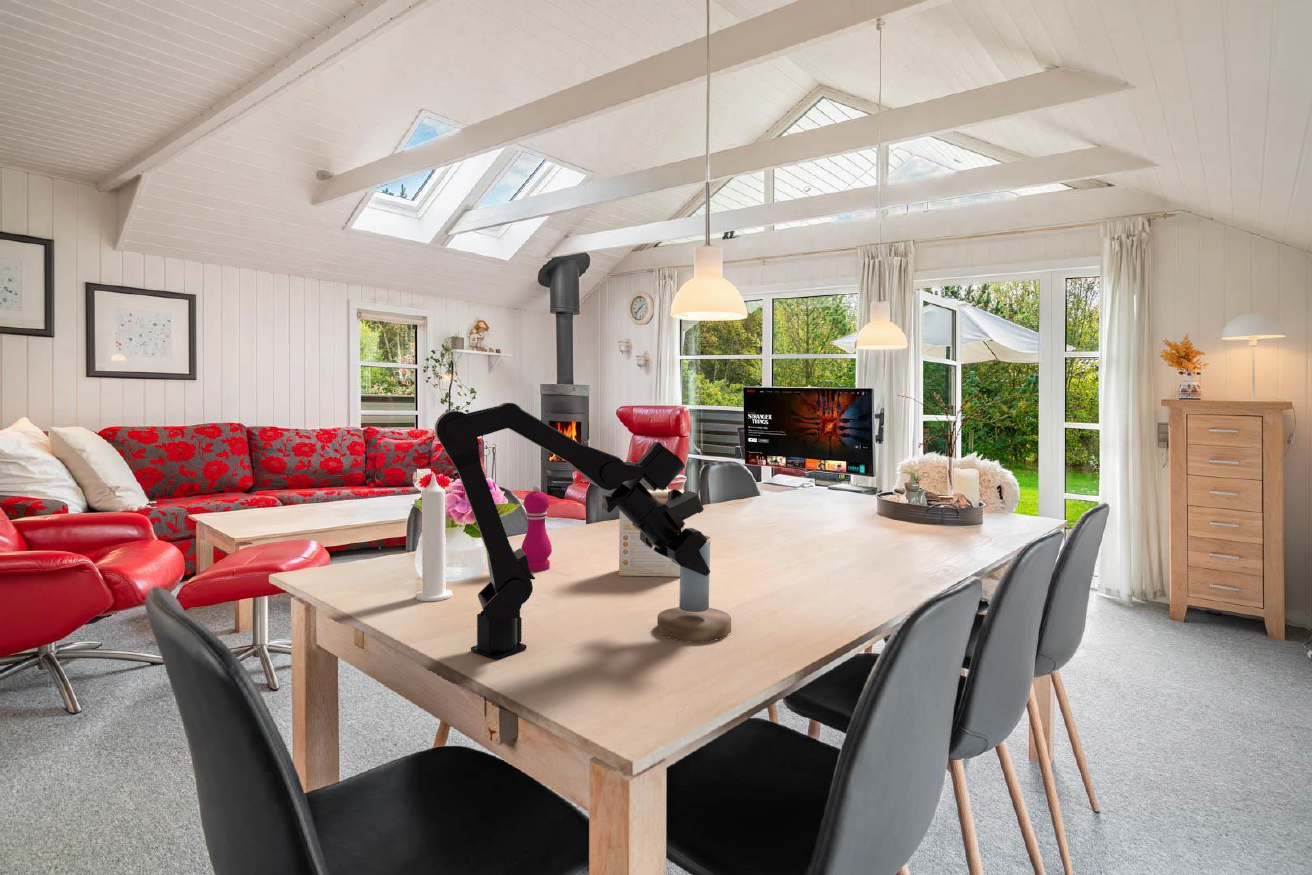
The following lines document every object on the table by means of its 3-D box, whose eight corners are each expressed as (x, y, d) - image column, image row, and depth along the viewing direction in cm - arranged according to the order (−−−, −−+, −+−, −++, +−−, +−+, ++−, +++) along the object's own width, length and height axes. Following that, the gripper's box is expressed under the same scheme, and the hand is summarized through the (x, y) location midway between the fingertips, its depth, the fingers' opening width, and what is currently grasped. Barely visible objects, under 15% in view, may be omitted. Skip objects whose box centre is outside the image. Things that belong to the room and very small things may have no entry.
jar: (690, 613, 120) (691, 541, 120) (673, 605, 125) (674, 536, 124) (715, 609, 123) (716, 538, 123) (697, 601, 128) (698, 533, 127)
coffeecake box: (683, 570, 168) (684, 488, 167) (683, 577, 161) (685, 492, 160) (621, 568, 168) (622, 487, 167) (618, 576, 161) (619, 491, 160)
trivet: (704, 649, 115) (705, 634, 115) (642, 632, 123) (642, 618, 123) (744, 629, 126) (744, 615, 125) (684, 615, 133) (684, 602, 133)
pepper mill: (545, 572, 164) (545, 487, 163) (516, 570, 165) (516, 486, 164) (556, 565, 171) (556, 483, 170) (527, 564, 172) (528, 482, 171)
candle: (408, 598, 141) (407, 474, 140) (434, 590, 147) (433, 471, 146) (434, 603, 138) (433, 476, 137) (459, 594, 144) (459, 473, 143)
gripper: (696, 482, 113) (756, 547, 117) (657, 471, 130) (710, 527, 135) (649, 533, 110) (712, 597, 115) (615, 515, 128) (671, 571, 132)
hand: (701, 570), depth 124 cm, fingers closed on jar, 5 cm apart
